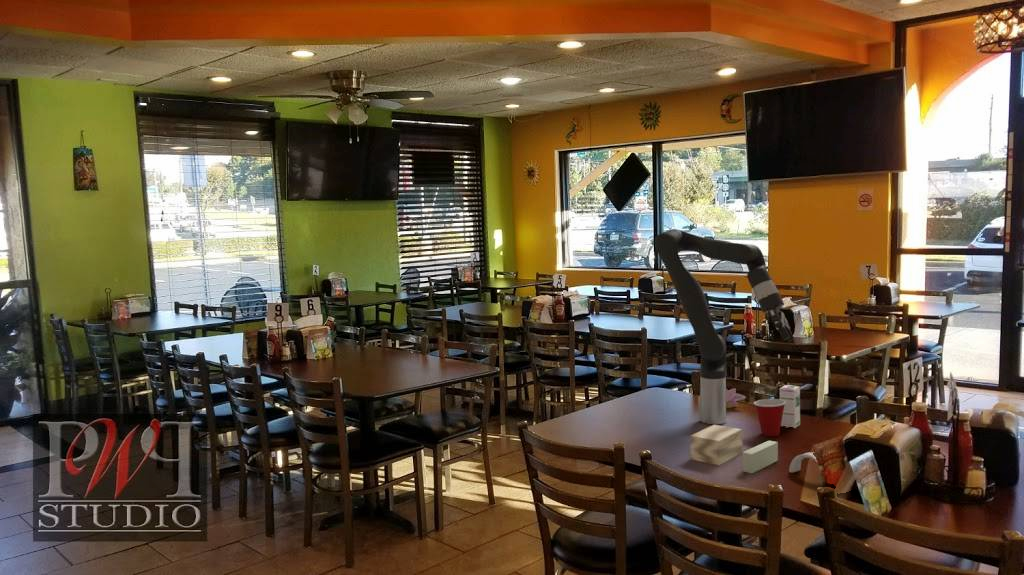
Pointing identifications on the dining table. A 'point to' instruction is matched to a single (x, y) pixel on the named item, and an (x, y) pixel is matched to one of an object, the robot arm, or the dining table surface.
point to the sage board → (760, 456)
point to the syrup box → (790, 405)
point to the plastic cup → (770, 415)
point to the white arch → (797, 460)
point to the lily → (733, 397)
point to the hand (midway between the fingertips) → (788, 339)
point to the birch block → (716, 444)
